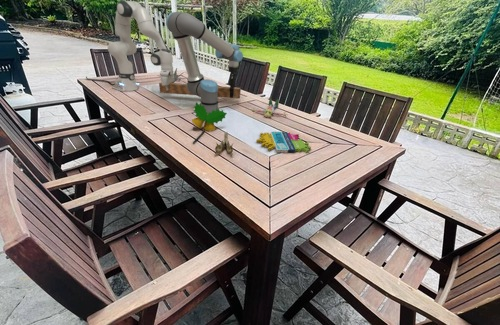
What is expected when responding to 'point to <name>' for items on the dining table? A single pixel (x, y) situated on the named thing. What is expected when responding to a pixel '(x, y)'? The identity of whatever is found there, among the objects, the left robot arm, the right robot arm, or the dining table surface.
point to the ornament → (207, 117)
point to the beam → (182, 89)
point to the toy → (270, 109)
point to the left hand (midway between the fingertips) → (168, 89)
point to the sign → (283, 142)
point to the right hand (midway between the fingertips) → (231, 96)
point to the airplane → (176, 76)
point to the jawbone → (224, 145)
